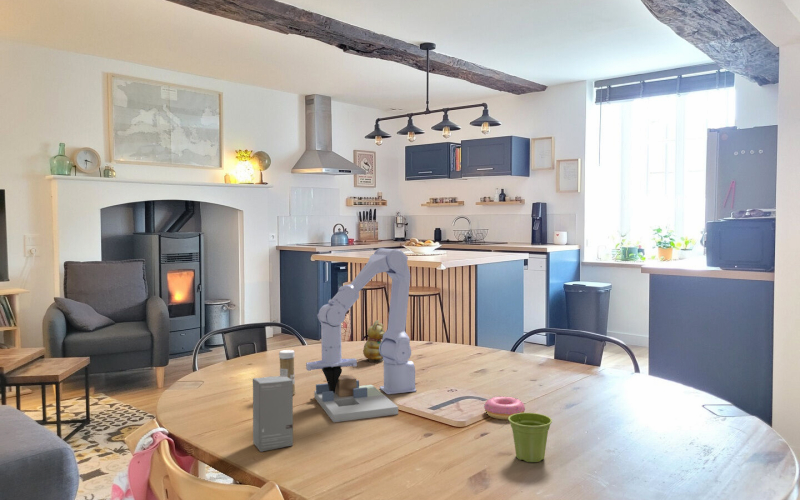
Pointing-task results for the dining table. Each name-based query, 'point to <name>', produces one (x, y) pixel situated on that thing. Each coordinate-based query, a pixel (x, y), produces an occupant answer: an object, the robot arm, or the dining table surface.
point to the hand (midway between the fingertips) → (332, 392)
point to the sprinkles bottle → (287, 365)
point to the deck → (354, 403)
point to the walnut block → (345, 385)
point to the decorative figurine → (374, 342)
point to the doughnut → (503, 407)
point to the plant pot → (530, 435)
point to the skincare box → (272, 412)
